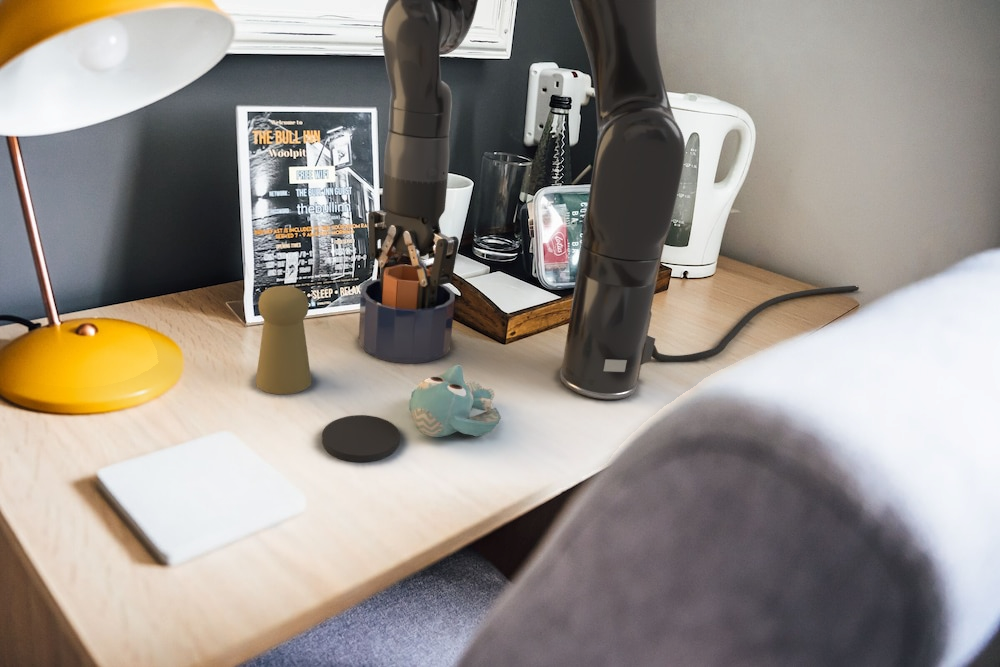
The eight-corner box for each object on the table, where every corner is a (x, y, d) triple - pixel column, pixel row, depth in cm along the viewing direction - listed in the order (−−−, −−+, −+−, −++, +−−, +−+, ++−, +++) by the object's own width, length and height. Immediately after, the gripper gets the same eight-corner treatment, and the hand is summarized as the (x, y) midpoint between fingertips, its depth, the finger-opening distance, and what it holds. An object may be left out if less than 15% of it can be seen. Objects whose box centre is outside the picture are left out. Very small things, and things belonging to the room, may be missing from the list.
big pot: (408, 318, 107) (412, 271, 104) (468, 348, 100) (473, 298, 97) (340, 338, 98) (342, 287, 96) (400, 371, 92) (404, 317, 89)
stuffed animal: (533, 371, 83) (476, 390, 73) (519, 432, 85) (461, 459, 74) (452, 341, 88) (387, 355, 78) (440, 399, 90) (375, 421, 79)
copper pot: (407, 325, 103) (411, 261, 99) (439, 341, 99) (445, 276, 96) (370, 336, 98) (374, 269, 95) (403, 353, 95) (407, 285, 91)
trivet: (367, 414, 82) (367, 407, 81) (415, 444, 77) (415, 437, 77) (306, 437, 76) (306, 430, 76) (354, 471, 72) (354, 464, 72)
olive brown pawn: (297, 398, 83) (297, 304, 79) (245, 388, 84) (243, 294, 80) (320, 375, 89) (321, 285, 84) (271, 365, 89) (270, 276, 85)
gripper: (482, 182, 89) (467, 316, 95) (399, 156, 97) (391, 281, 104) (434, 188, 83) (423, 330, 90) (352, 160, 92) (346, 291, 98)
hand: (406, 303), depth 97 cm, fingers closed on copper pot, 6 cm apart
